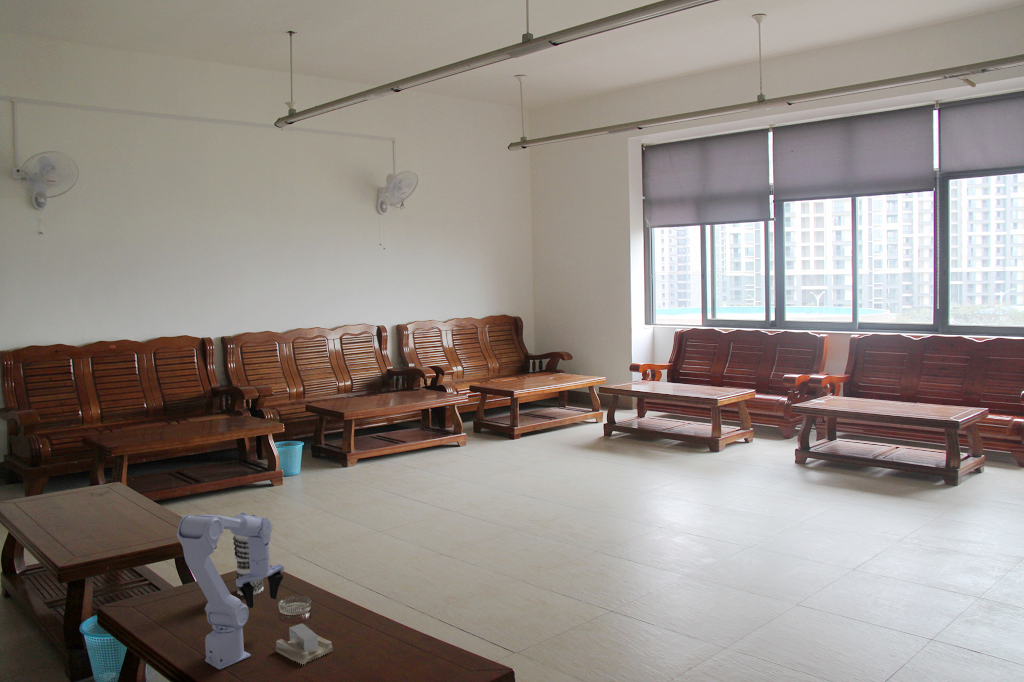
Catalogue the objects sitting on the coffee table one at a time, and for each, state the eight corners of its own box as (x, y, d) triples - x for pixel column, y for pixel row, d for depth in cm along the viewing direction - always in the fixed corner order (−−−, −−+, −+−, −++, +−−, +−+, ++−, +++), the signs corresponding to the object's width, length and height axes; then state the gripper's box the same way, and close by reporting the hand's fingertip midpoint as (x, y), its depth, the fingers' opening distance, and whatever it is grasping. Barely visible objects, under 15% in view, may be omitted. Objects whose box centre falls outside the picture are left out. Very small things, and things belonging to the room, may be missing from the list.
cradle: (302, 665, 210) (302, 655, 210) (275, 651, 219) (275, 641, 219) (333, 651, 218) (332, 641, 218) (305, 637, 226) (305, 628, 226)
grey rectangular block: (304, 655, 213) (303, 639, 213) (289, 642, 221) (289, 627, 221) (318, 651, 216) (317, 635, 215) (303, 638, 224) (302, 623, 223)
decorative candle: (249, 583, 268) (245, 512, 266) (270, 587, 265) (266, 515, 262) (230, 593, 260) (225, 520, 258) (251, 597, 256) (247, 523, 254)
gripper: (273, 547, 236) (275, 591, 237) (229, 561, 225) (232, 607, 226) (286, 552, 232) (289, 597, 233) (242, 567, 221) (245, 613, 222)
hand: (261, 602), depth 229 cm, fingers open, 7 cm apart
